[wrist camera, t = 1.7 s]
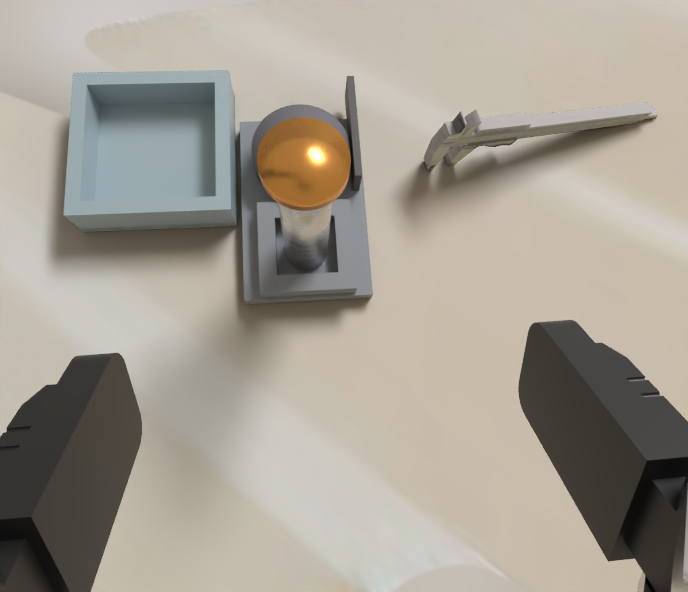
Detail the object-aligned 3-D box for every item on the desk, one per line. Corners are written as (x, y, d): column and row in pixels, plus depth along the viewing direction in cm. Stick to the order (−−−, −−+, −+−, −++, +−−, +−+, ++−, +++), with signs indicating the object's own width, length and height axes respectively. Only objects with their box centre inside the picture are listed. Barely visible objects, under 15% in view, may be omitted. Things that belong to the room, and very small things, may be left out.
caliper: (425, 174, 40) (445, 129, 34) (421, 161, 40) (440, 115, 34) (654, 119, 43) (712, 68, 36) (649, 108, 43) (705, 55, 37)
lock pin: (276, 281, 36) (258, 203, 23) (274, 222, 37) (255, 118, 24) (339, 278, 36) (354, 200, 24) (335, 220, 37) (347, 116, 25)
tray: (82, 232, 37) (63, 215, 34) (90, 98, 39) (73, 73, 37) (237, 225, 38) (230, 209, 35) (234, 95, 40) (228, 70, 37)
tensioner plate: (245, 304, 36) (237, 290, 32) (241, 106, 40) (233, 72, 36) (371, 297, 37) (378, 282, 33) (354, 104, 41) (359, 70, 37)
